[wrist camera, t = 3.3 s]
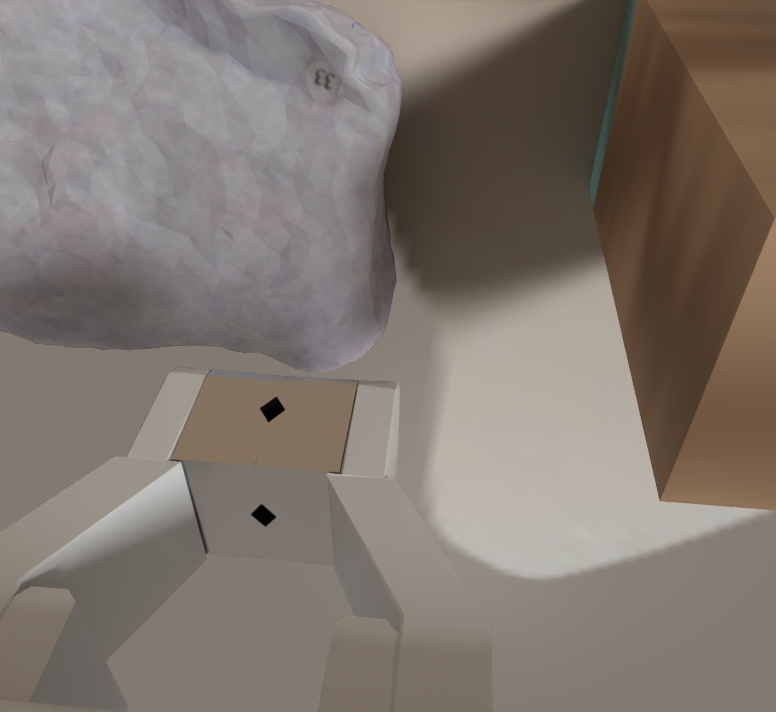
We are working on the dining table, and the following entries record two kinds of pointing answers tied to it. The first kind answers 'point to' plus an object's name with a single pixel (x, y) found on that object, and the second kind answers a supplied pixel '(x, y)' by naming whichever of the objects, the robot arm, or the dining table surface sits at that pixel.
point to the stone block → (195, 177)
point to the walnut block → (696, 240)
